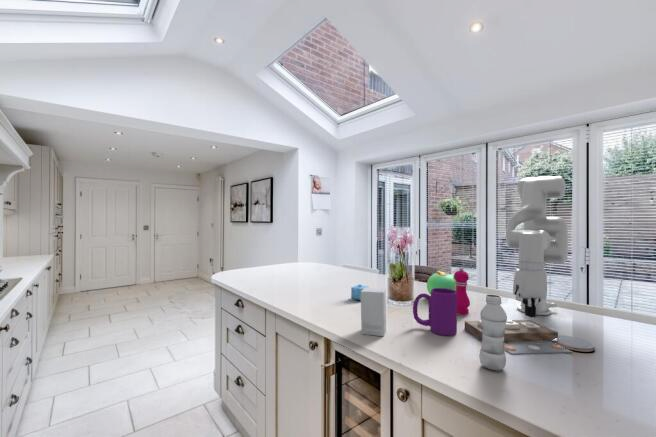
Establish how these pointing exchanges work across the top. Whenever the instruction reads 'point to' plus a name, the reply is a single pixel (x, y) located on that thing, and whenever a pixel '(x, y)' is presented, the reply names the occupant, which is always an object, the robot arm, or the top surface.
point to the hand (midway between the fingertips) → (530, 316)
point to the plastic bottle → (493, 334)
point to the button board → (517, 332)
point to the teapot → (357, 291)
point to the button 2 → (529, 325)
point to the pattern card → (534, 348)
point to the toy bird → (441, 281)
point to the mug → (439, 311)
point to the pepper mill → (462, 291)
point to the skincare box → (373, 311)
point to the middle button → (511, 325)
